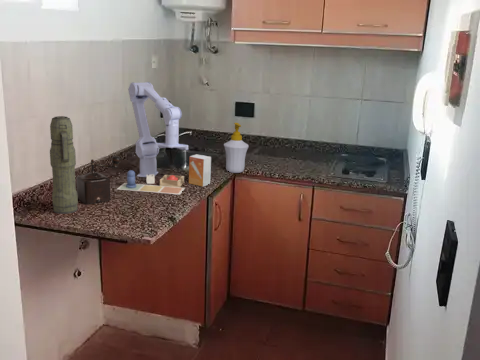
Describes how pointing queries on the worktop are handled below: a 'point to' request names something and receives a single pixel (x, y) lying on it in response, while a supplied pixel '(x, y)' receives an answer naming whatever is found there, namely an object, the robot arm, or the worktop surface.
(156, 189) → the game mat
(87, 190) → the dark brown coffee grinder
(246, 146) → the soap bottle
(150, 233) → the worktop surface
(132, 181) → the pawn
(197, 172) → the small box
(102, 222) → the worktop surface
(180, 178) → the frame
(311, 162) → the worktop surface
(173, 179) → the dome button
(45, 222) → the worktop surface
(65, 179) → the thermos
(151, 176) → the ivory die
